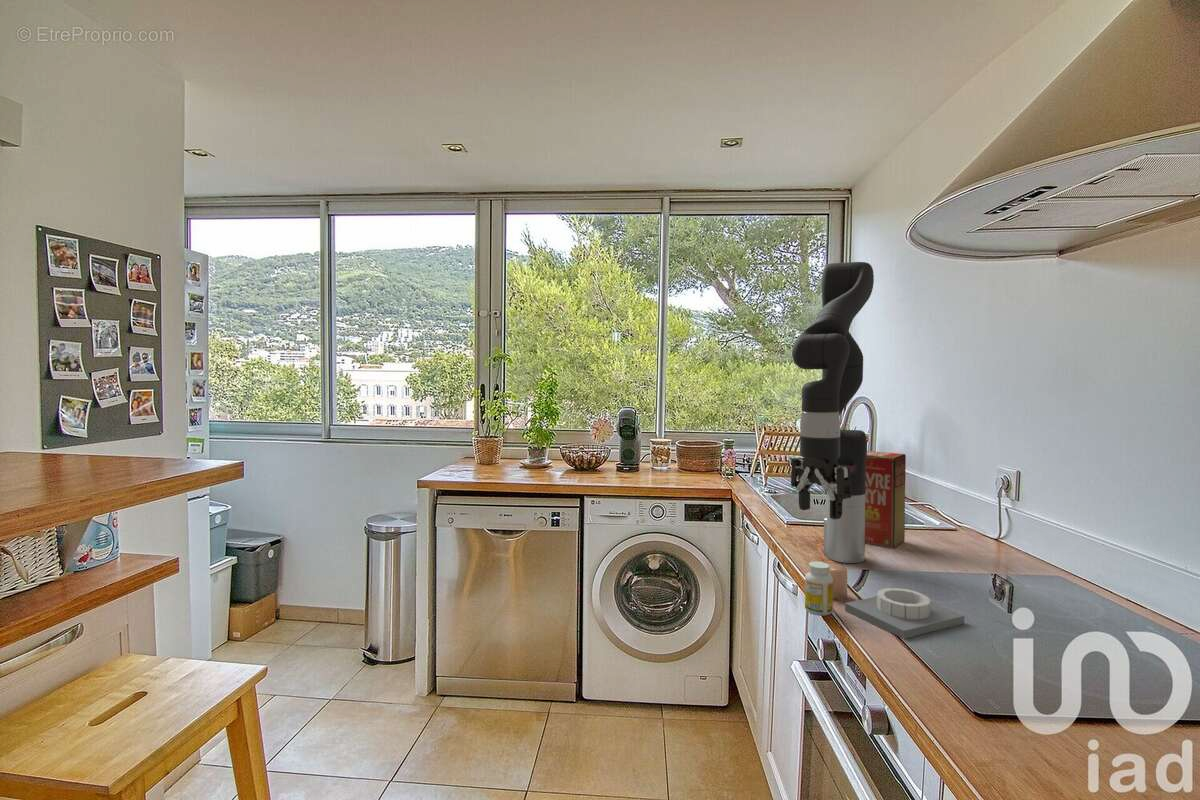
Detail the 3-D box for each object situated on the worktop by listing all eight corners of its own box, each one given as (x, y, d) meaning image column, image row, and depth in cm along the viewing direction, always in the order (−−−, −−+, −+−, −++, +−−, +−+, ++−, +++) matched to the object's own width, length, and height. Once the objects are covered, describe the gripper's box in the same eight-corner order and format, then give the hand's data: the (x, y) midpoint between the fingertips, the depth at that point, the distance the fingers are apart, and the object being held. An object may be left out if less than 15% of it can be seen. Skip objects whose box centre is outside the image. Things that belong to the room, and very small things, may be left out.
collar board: (845, 610, 121) (845, 591, 121) (902, 597, 127) (902, 579, 127) (903, 638, 108) (904, 617, 108) (964, 623, 114) (964, 602, 114)
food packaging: (844, 539, 170) (845, 452, 168) (857, 532, 176) (858, 449, 175) (894, 549, 160) (895, 457, 159) (906, 541, 167) (907, 453, 166)
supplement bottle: (811, 617, 118) (812, 569, 118) (800, 606, 123) (800, 560, 123) (837, 615, 119) (838, 568, 118) (825, 605, 124) (825, 559, 123)
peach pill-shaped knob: (817, 593, 130) (817, 566, 130) (834, 589, 132) (835, 563, 132) (834, 601, 126) (834, 573, 126) (852, 597, 128) (852, 570, 127)
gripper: (862, 436, 114) (861, 520, 115) (809, 429, 127) (809, 504, 128) (832, 439, 111) (831, 524, 112) (781, 431, 124) (781, 508, 125)
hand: (819, 513), depth 120 cm, fingers open, 8 cm apart
